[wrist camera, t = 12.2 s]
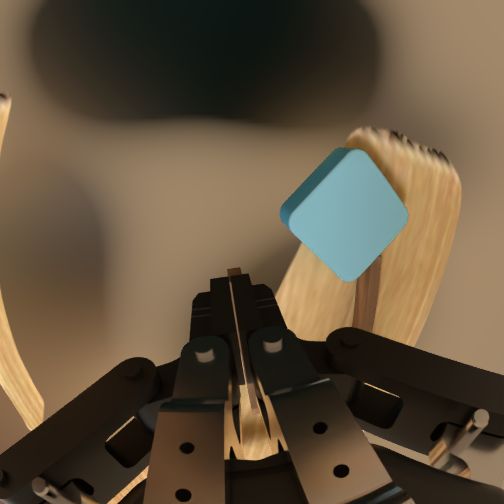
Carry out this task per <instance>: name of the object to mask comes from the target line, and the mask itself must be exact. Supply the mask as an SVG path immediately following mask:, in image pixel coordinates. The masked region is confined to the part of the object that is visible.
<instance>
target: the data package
mask: <svg viewBox="0 0 504 504" xmlns="http://www.w3.org/2000/svg"><path fill="white" fill-rule="evenodd" d="M280 218H281V220H282V221H283V222H284V224H285V225H286V226H287V227H288V228H289V229H290V230H291V232H292V233H293V234H294V235H296V237H298V238H299V239H300V240H301V241H302V242H303V243H304V244H305V245H306V246H307V247H308V248H309V249H310V250H311V251H312V252H313V253H314V254H316V255H317V256H318V257H319V258H320V259H321V260H322V261H323V262H324V263H325V264H326V265H327V266H328V267H329V268H330V269H331V270H332V271H333V272H334V273H335V274H336V275H337V276H338V277H339V278H340V279H341V280H343V281H345V282H351V281H354V280H356V279H357V278H358V277H359V276H360V275H361V274H362V273H363V272H364V271H365V270H366V269H367V268H368V267H369V266H370V265H371V263H372V262H373V261H374V260H375V259H376V258H377V257H378V256H379V255H380V254H381V253H382V251H383V250H384V249H385V248H386V247H387V246H388V245H389V244H390V242H391V241H392V240H393V239H394V238H395V237H396V236H397V234H398V233H399V232H400V231H401V230H402V229H403V227H404V226H405V225H406V223H407V221H408V211H407V208H406V207H405V205H404V204H403V202H402V201H401V199H400V198H399V196H398V195H397V193H396V192H395V191H394V189H393V188H392V186H391V185H390V183H389V182H388V181H387V179H386V178H385V176H384V175H383V174H382V172H381V171H380V170H379V168H378V167H377V166H376V164H375V163H374V162H373V160H372V159H371V158H370V157H369V155H368V154H367V153H366V152H365V151H363V150H361V149H353V148H338V149H335V150H334V151H333V152H332V153H331V154H330V155H329V156H328V157H327V158H326V159H325V160H324V161H323V162H322V163H321V165H320V166H319V167H318V168H317V169H316V170H315V171H314V172H313V173H312V174H311V175H310V176H309V177H308V178H307V179H306V180H305V182H303V183H302V185H301V186H300V187H299V188H298V189H297V190H296V191H295V192H294V193H293V194H292V195H291V196H290V197H289V198H288V200H286V201H285V203H284V204H283V205H282V207H281V209H280Z"/></svg>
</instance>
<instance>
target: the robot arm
mask: <svg viewBox="0 0 504 504" xmlns="http://www.w3.org/2000/svg"><path fill="white" fill-rule="evenodd" d="M230 278H231V285H232V292H233V299H234V305H235V312H236V318H237V324H238V331H239V337H240V343H241V349H242V355H243V361H244V367H245V373H246V379H247V384H251V383H253V384H254V389H255V394H256V401H257V405H258V408H259V411H260V414H261V418H262V421H263V424H264V427H265V430H266V433H267V437H268V440H269V443H270V446H271V450H272V454H273V455H271V456H269V457H266V458H264V459H261V460H244V454H243V443H242V423H241V404H240V397H241V394H240V387H239V385H245V379H244V373H243V367H242V361H241V354H240V348H239V341H238V335H237V328H236V322H235V315H234V309H233V302H232V296H231V289H230V283H229V276H227V277H220V278H213V279H210V292H203V293H198V294H197V296H196V297H195V298H194V300H193V303H192V314H191V317H192V318H191V326H190V339H189V342H187V343H186V344H185V345H184V347H183V348H182V350H181V354H180V357H179V358H178V359H176V360H174V361H172V362H169V363H167V364H164V365H160V366H157V367H156V366H155V364H154V363H153V362H152V361H151V360H149V359H147V358H142V357H134V358H130V359H127V360H125V361H123V362H121V363H120V364H119V365H117V366H116V367H114V368H113V369H112V370H111V371H109V372H108V373H107V374H105V375H104V376H103V377H102V378H100V379H99V380H98V381H96V382H95V383H94V384H92V385H91V386H90V387H89V388H87V389H86V390H85V391H83V392H82V393H81V394H79V395H78V396H77V397H76V398H74V399H73V400H72V401H70V402H69V403H68V404H66V405H65V406H64V407H63V408H61V409H60V410H59V411H57V412H56V413H55V414H53V415H52V416H51V417H50V418H48V419H47V420H46V421H44V422H43V423H42V424H40V425H39V426H38V427H36V428H35V429H34V430H32V431H31V432H30V433H28V434H27V435H26V436H25V437H23V438H22V439H21V440H19V441H18V442H17V443H15V444H14V445H13V446H11V447H10V448H9V449H7V450H6V451H5V452H3V453H2V454H1V455H0V500H1V501H2V502H4V503H5V504H107V503H108V502H109V501H110V500H111V499H112V498H114V497H115V496H116V495H117V494H118V493H119V492H120V491H121V490H123V489H124V488H125V487H126V486H127V485H128V484H129V483H130V482H131V481H132V480H133V479H135V478H136V477H137V476H138V475H139V474H140V473H141V472H142V471H143V470H144V469H145V468H146V467H147V466H148V465H149V468H148V474H147V478H146V479H144V480H143V481H141V482H140V483H139V484H137V485H136V486H135V487H134V488H133V489H132V490H131V491H130V492H129V493H128V494H127V495H126V496H125V497H124V498H123V499H122V500H121V501H120V502H119V503H118V504H504V490H503V489H501V486H502V483H503V480H504V375H500V374H497V373H494V372H490V371H486V370H483V369H480V368H477V367H473V366H470V365H467V364H463V363H460V362H457V361H454V360H451V359H448V358H444V357H441V356H438V355H435V354H432V353H429V352H426V351H423V350H420V349H417V348H414V347H411V346H408V345H405V344H402V343H399V342H396V341H393V340H390V339H388V338H385V337H382V336H379V335H376V334H373V333H370V332H368V331H365V330H362V329H359V328H354V327H344V328H340V329H337V330H335V331H333V332H332V333H330V334H329V336H328V337H327V339H326V342H325V341H305V340H302V339H299V338H297V337H296V335H295V334H294V333H293V332H292V331H291V330H289V329H287V326H286V324H285V321H284V319H283V316H282V314H281V311H280V309H279V306H278V305H277V302H276V299H275V297H274V294H273V292H272V289H270V288H269V287H268V286H266V285H265V284H258V285H252V284H251V281H250V277H249V274H241V275H234V276H230ZM364 383H368V384H370V385H372V386H375V387H377V388H380V389H382V390H385V391H387V392H390V393H392V394H395V395H397V396H399V397H400V398H398V397H396V396H393V395H391V394H388V393H386V392H383V391H381V390H378V389H376V388H373V387H371V386H368V385H366V384H364ZM133 416H134V417H135V418H134V419H133V420H132V421H130V423H128V424H127V425H126V426H125V427H124V428H122V429H121V430H120V431H119V432H118V433H117V434H116V435H115V436H113V437H112V438H111V439H110V440H109V441H107V442H106V440H107V439H108V438H109V436H111V435H112V434H113V433H114V432H115V431H117V430H118V429H119V428H120V427H121V426H122V425H123V424H124V423H126V422H127V421H128V420H129V419H130V418H131V417H133ZM362 430H364V431H366V432H369V433H371V434H373V435H376V436H378V437H380V438H383V439H385V440H388V441H390V442H393V443H395V444H398V445H400V446H403V447H405V448H408V449H411V450H414V451H416V452H419V453H422V454H425V455H428V456H429V460H430V463H431V465H430V466H429V465H426V464H424V463H421V462H419V461H416V460H414V459H411V458H409V457H406V456H404V455H402V454H399V453H397V452H395V451H392V450H390V449H388V448H385V447H383V446H379V445H376V444H371V443H369V441H368V439H367V438H366V436H365V434H364V433H363V431H362Z"/></svg>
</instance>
